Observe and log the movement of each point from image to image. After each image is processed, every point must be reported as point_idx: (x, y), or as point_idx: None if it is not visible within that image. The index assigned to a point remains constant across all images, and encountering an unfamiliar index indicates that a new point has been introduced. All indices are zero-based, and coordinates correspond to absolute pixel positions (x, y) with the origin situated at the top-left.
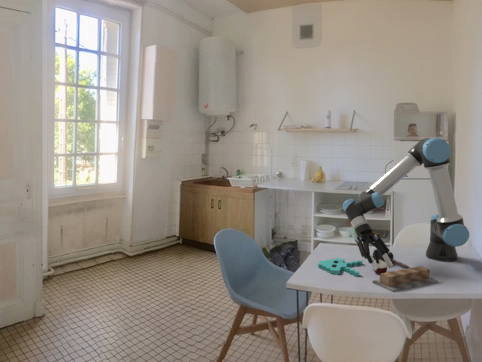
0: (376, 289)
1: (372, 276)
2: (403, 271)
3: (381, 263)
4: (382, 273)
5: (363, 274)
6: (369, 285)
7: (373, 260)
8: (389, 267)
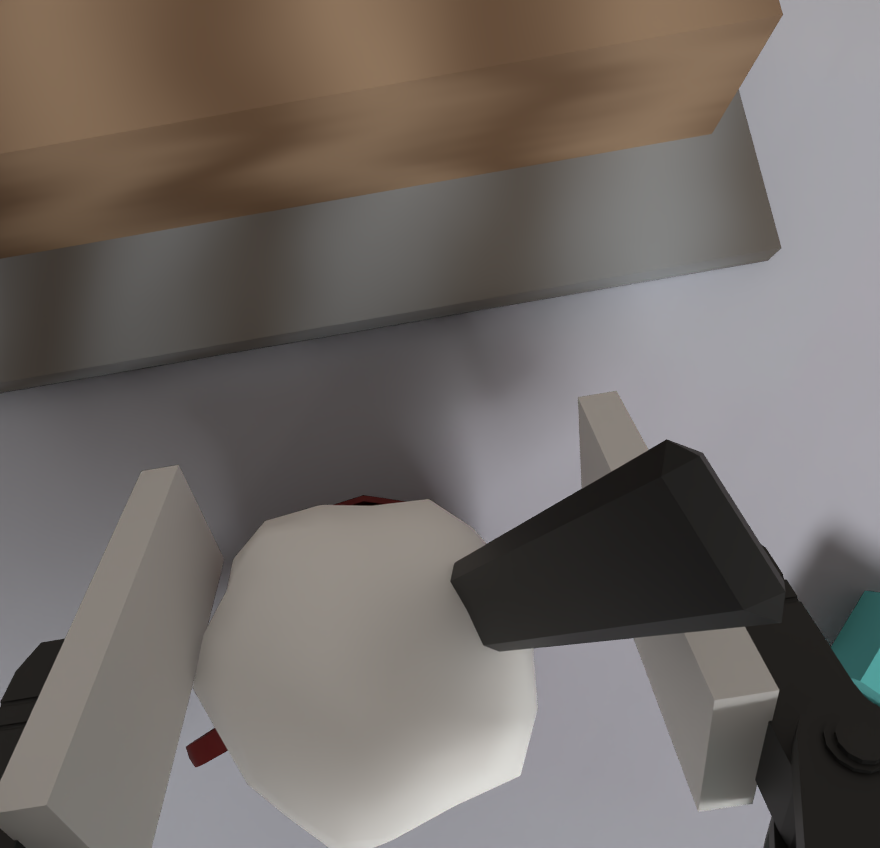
0: (848, 7)
1: None
2: (243, 16)
3: (392, 562)
4: (729, 11)
5: None
6: (877, 164)
7: None
8: (214, 544)
